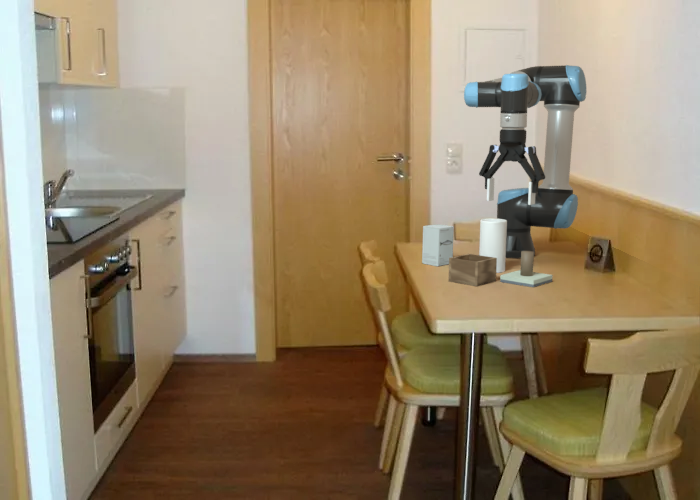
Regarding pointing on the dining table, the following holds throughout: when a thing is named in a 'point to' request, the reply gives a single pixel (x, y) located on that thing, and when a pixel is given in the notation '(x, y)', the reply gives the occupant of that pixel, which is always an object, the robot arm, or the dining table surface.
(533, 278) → the lid
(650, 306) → the dining table surface
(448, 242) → the supplement box
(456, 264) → the box
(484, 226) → the cup
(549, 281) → the plate
